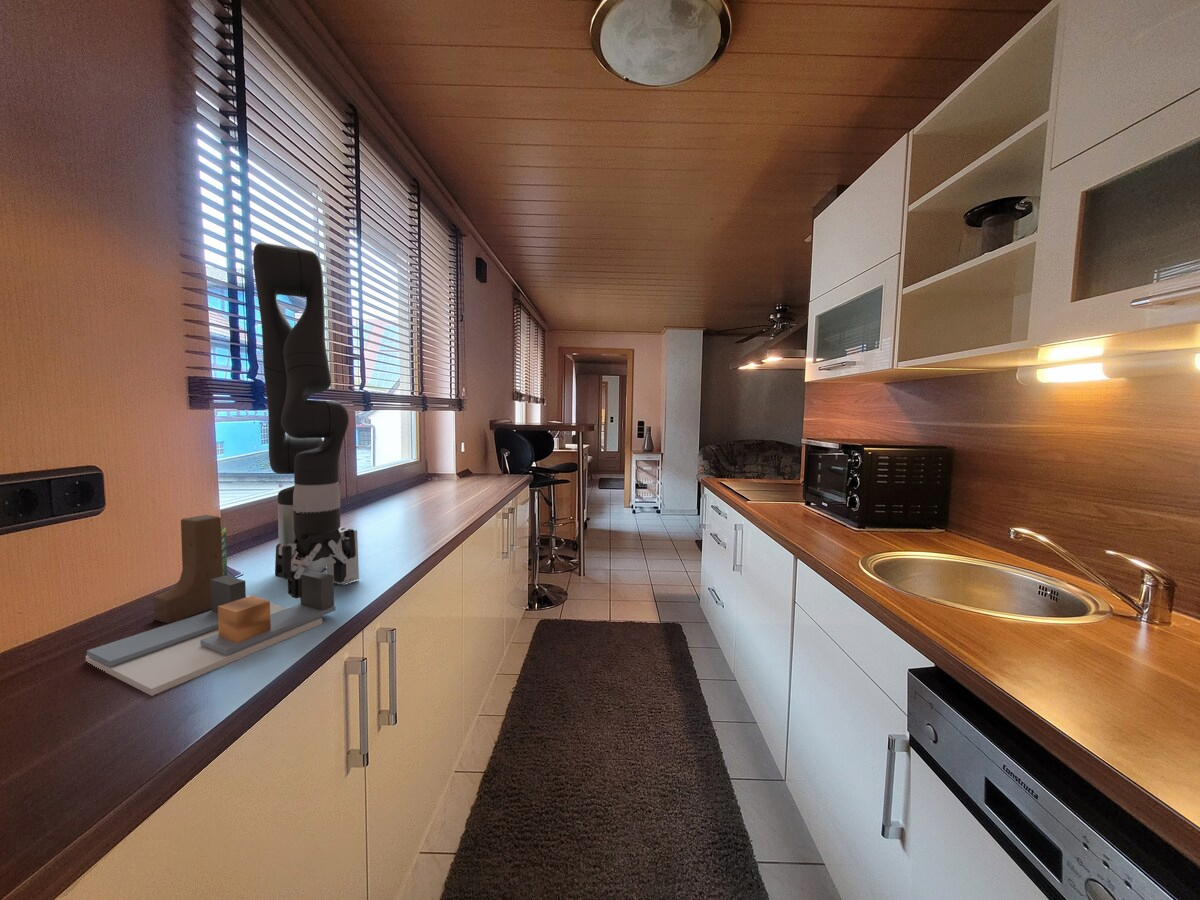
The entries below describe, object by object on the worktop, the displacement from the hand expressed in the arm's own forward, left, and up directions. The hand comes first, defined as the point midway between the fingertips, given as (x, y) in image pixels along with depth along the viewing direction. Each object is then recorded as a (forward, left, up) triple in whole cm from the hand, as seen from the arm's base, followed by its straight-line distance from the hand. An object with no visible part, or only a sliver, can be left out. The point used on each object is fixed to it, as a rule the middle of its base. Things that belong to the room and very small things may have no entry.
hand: (318, 589), depth 86 cm
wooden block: (+10, -22, -5) cm, 25 cm away
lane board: (+14, -5, -5) cm, 16 cm away
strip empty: (+17, -11, -4) cm, 21 cm away
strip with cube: (+8, 0, -4) cm, 9 cm away
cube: (+13, 0, -3) cm, 13 cm away
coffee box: (+2, -30, -5) cm, 30 cm away
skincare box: (-14, -12, -5) cm, 19 cm away
